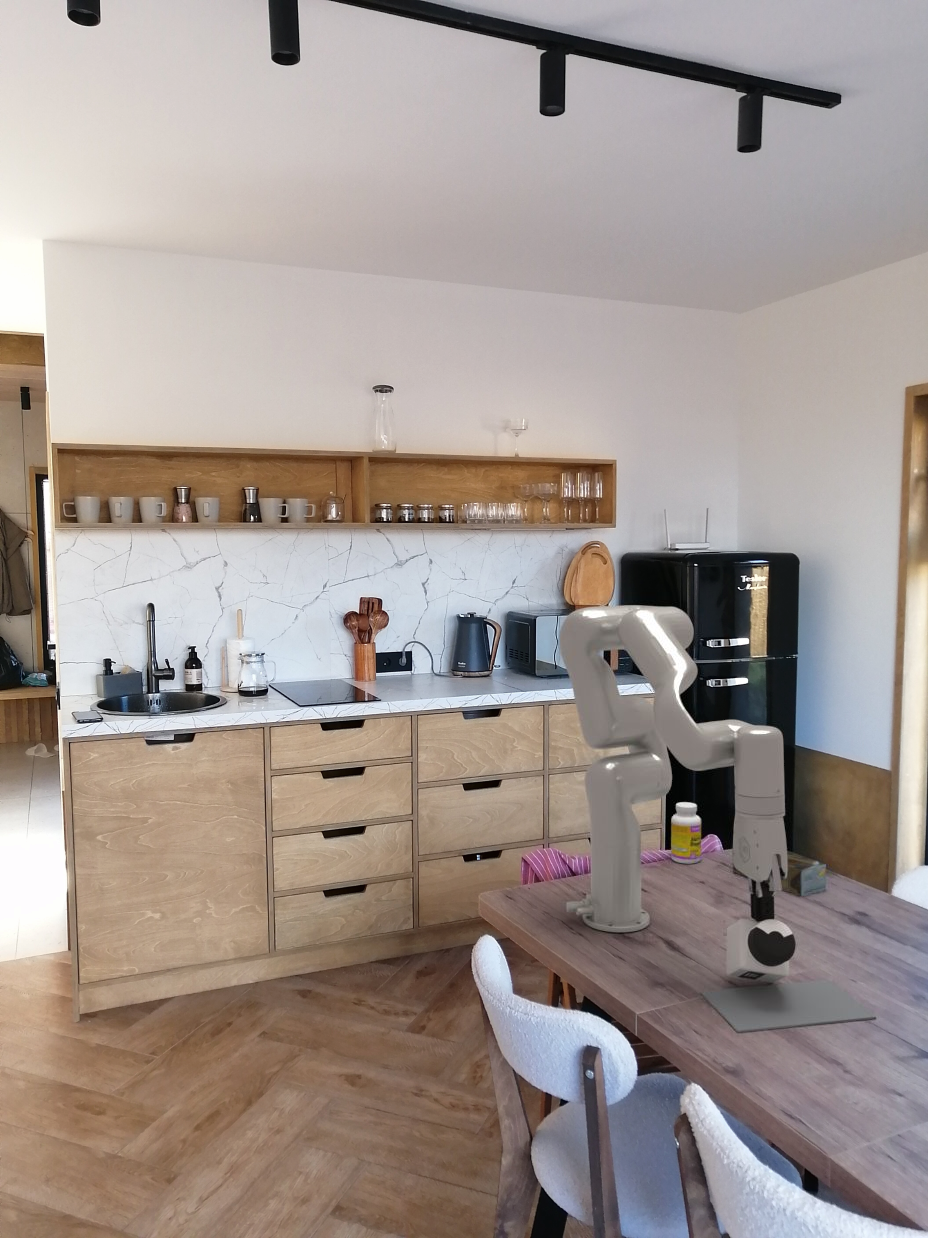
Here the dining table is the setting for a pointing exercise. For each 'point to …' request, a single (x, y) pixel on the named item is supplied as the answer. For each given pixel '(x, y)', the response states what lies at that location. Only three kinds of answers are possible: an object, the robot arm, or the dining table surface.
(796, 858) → the beverage carton
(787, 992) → the rubber mat
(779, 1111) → the dining table surface
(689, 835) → the supplement bottle
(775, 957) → the container
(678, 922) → the dining table surface
